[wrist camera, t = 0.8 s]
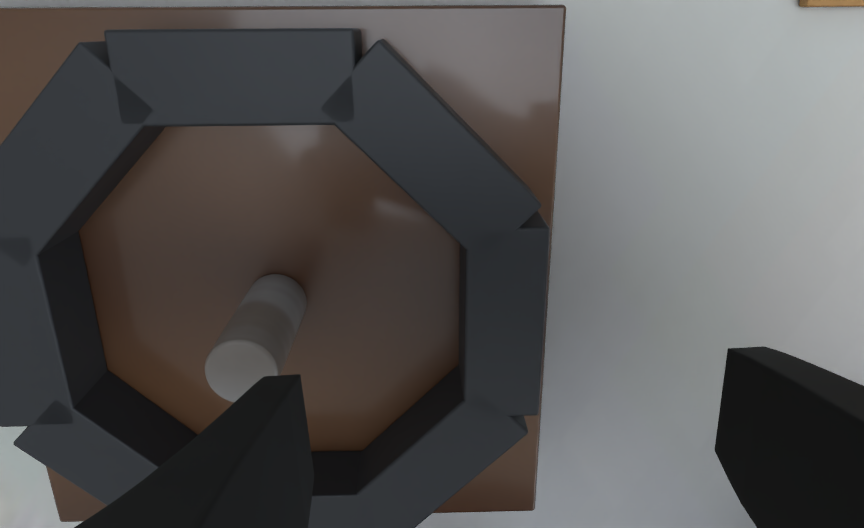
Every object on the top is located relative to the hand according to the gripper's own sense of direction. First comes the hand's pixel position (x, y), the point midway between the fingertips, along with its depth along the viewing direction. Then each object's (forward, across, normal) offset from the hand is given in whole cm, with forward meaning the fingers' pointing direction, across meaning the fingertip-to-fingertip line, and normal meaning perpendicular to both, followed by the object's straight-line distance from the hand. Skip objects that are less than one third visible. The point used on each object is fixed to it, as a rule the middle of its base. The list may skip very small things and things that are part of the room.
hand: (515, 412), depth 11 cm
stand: (+10, +5, +1) cm, 11 cm away
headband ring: (+7, +6, +1) cm, 9 cm away
